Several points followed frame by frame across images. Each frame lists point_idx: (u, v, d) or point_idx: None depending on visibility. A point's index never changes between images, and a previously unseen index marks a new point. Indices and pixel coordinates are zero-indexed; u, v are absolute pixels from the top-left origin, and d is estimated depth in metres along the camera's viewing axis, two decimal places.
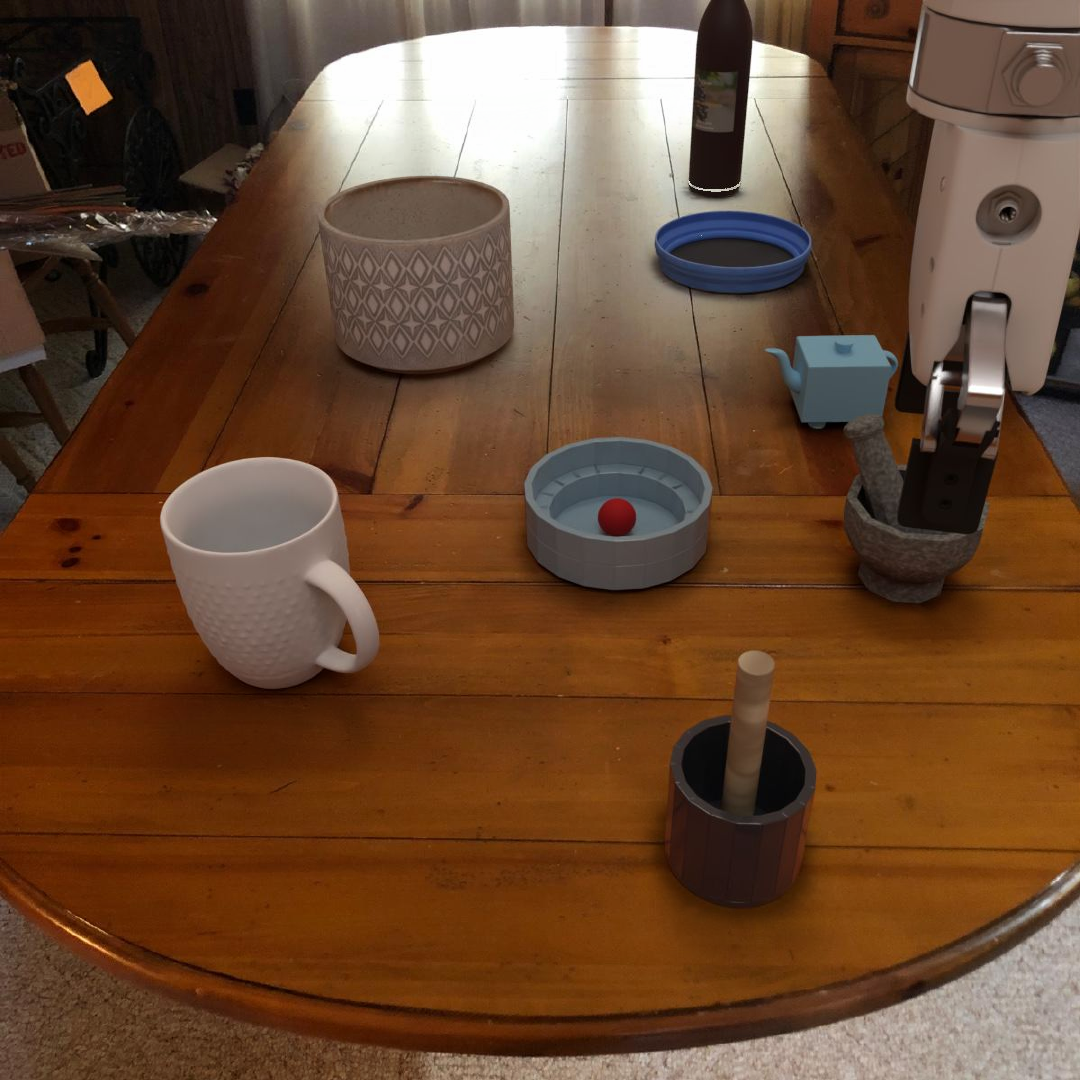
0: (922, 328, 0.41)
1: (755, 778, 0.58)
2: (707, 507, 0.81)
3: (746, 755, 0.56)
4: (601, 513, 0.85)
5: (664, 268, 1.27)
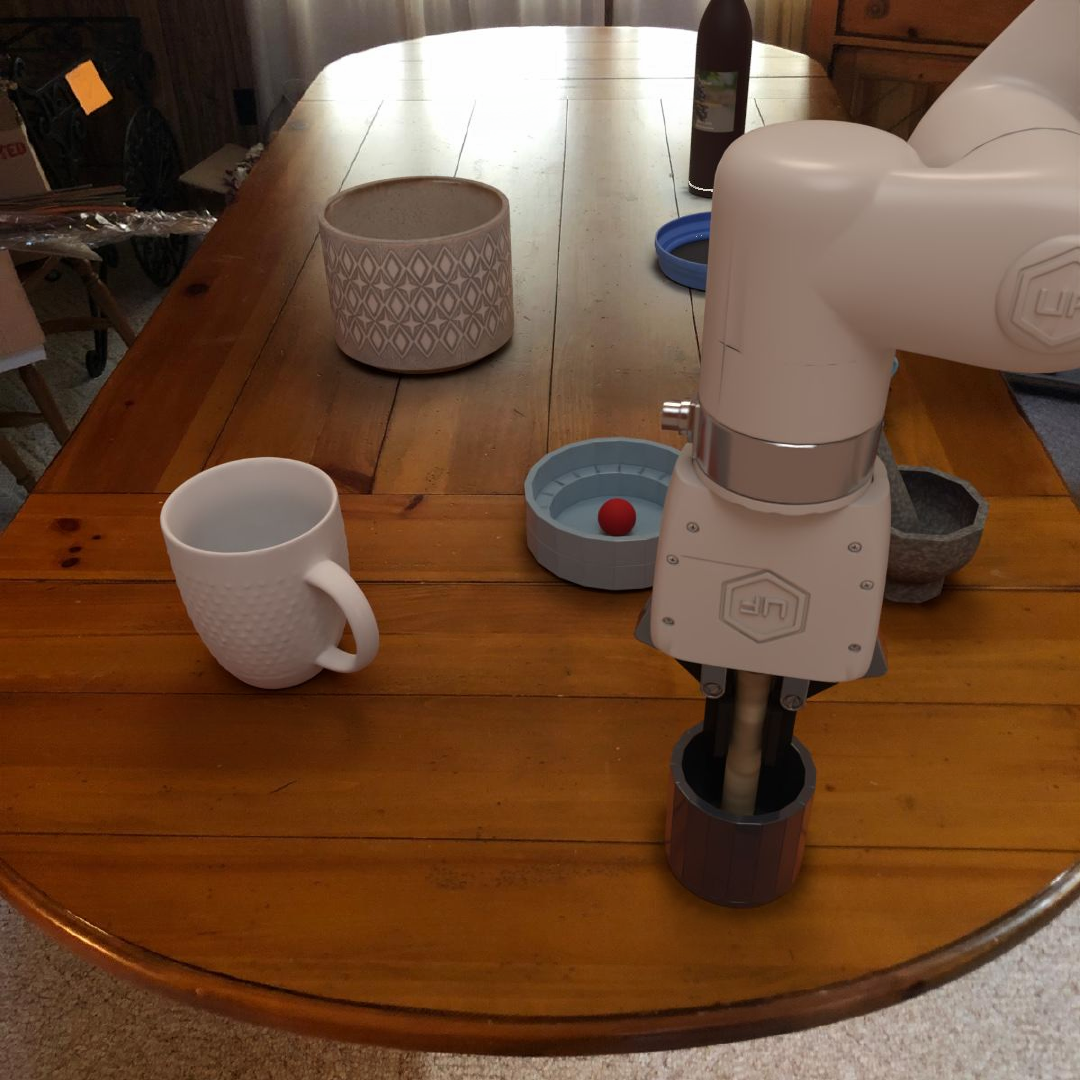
0: None
1: (754, 778, 0.58)
2: None
3: (746, 755, 0.56)
4: (601, 513, 0.85)
5: (664, 268, 1.27)
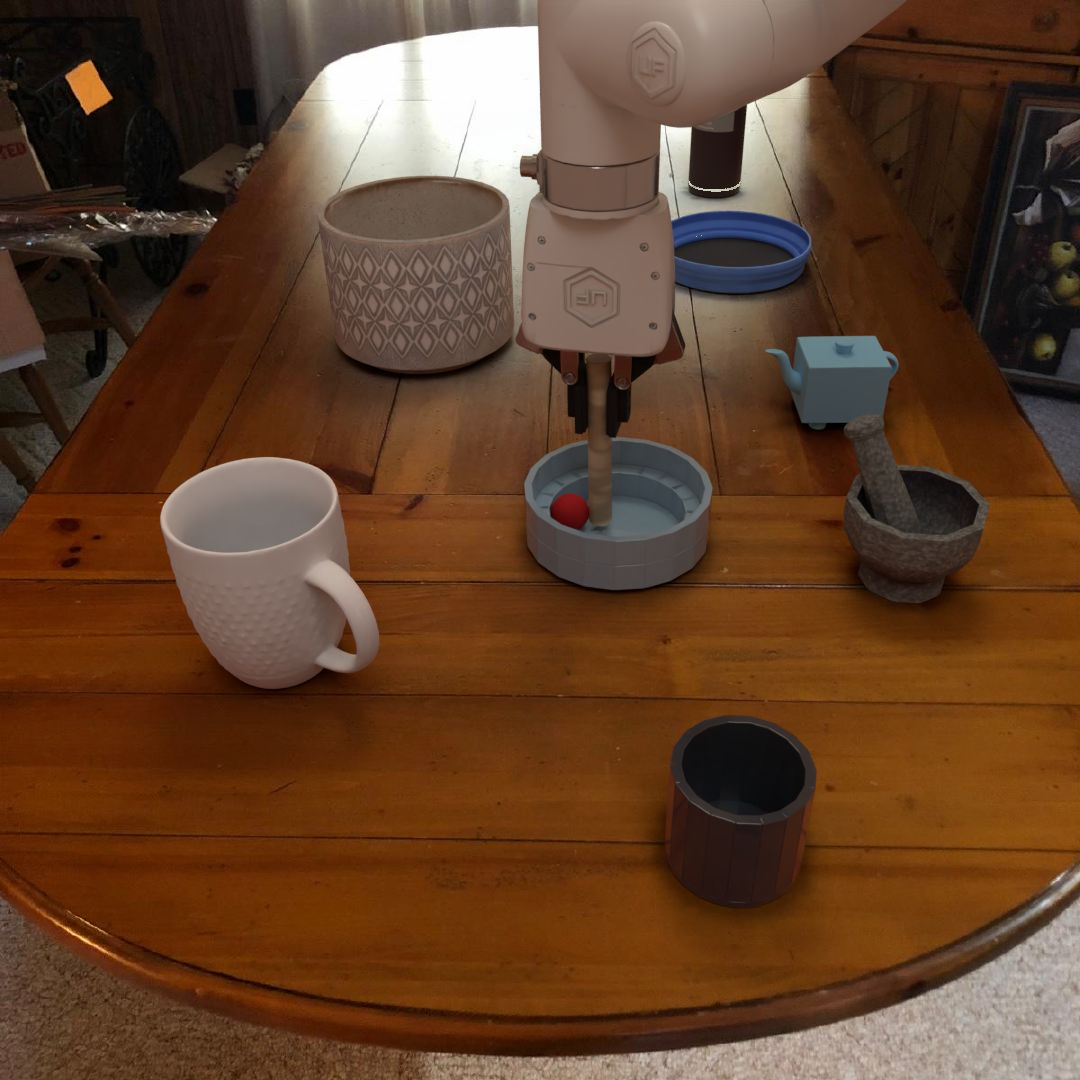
0: None
1: (607, 454, 0.82)
2: (707, 507, 0.81)
3: (598, 433, 0.80)
4: None
5: None
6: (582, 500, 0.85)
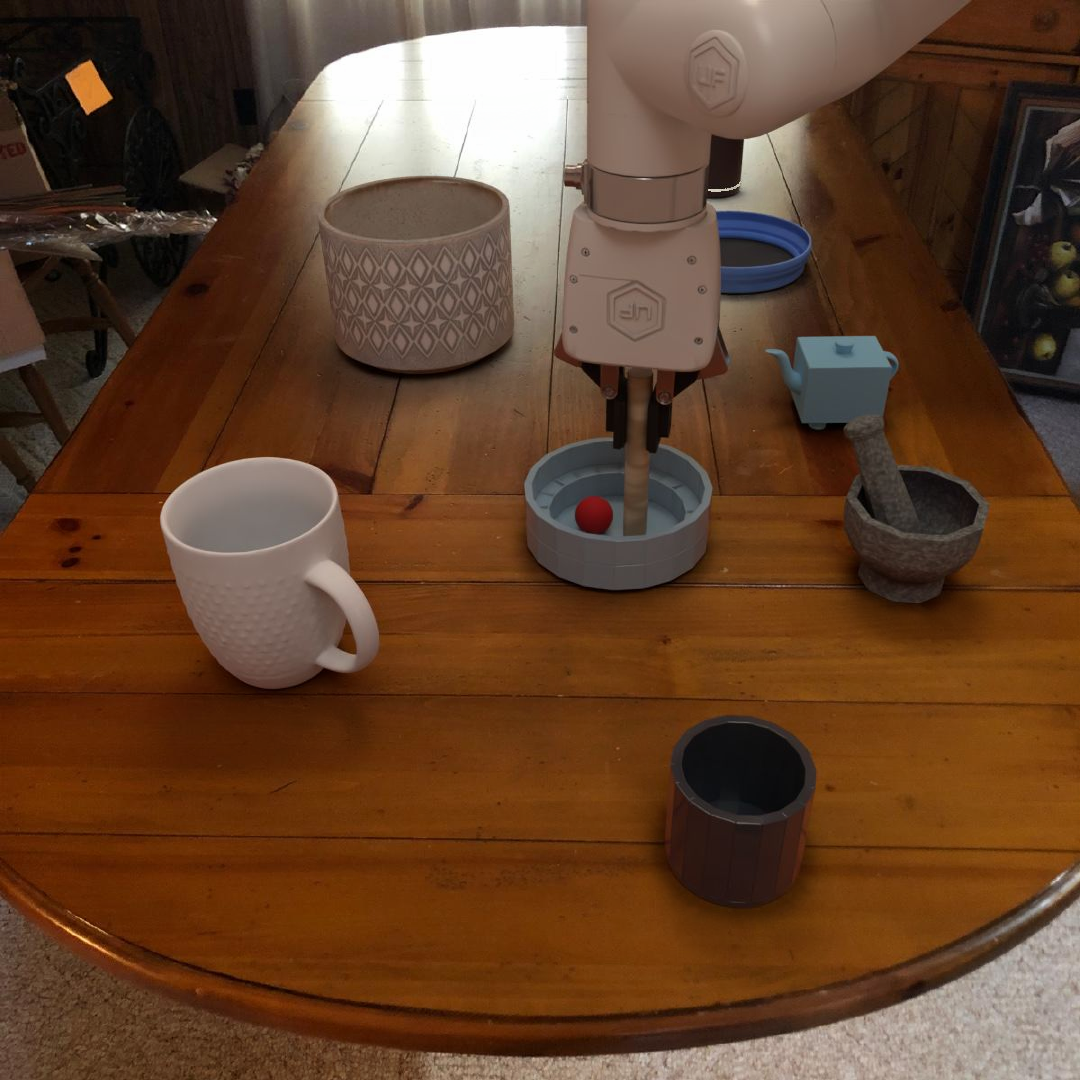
0: None
1: (645, 470, 0.80)
2: (707, 507, 0.81)
3: (637, 448, 0.79)
4: (578, 526, 0.86)
5: None
6: None
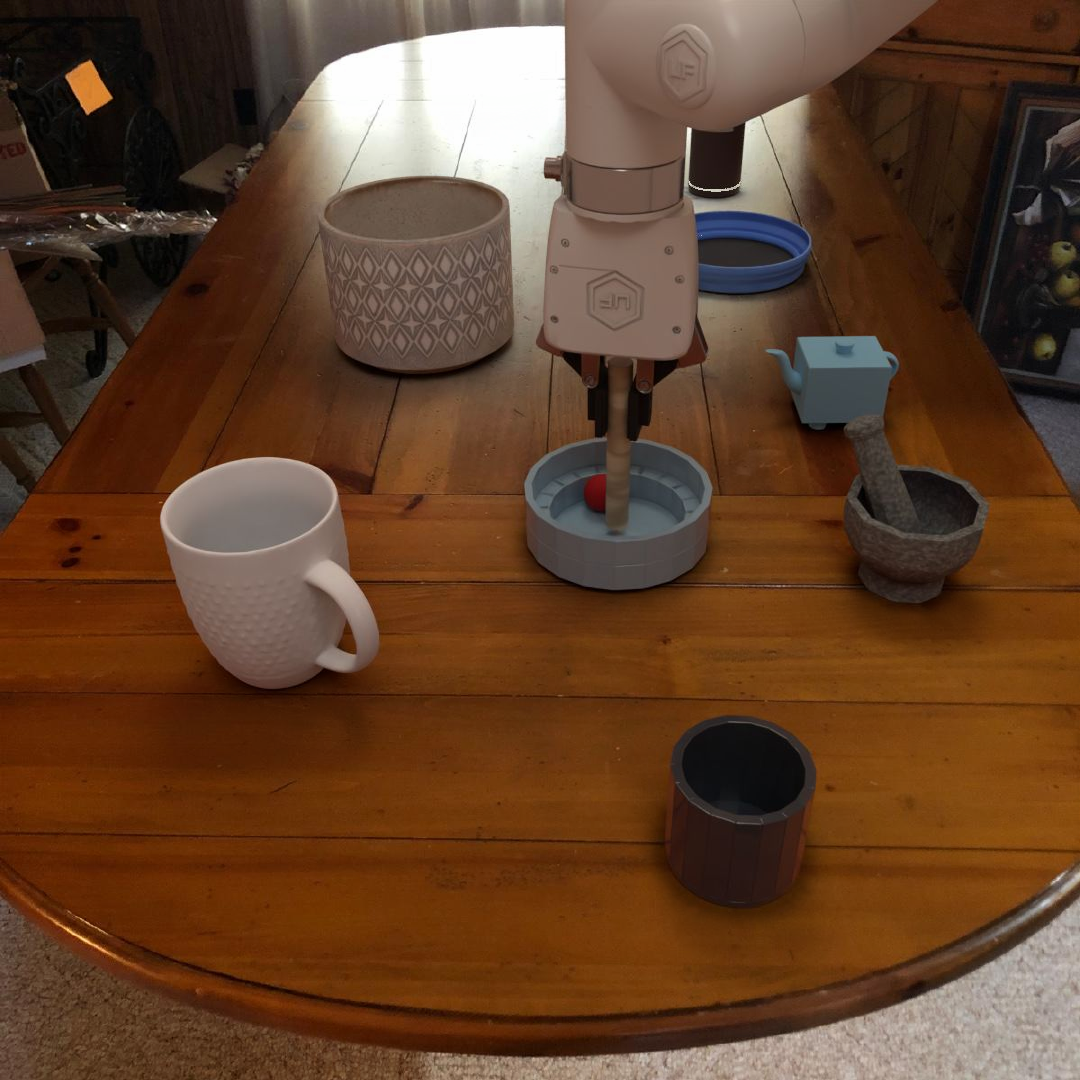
0: None
1: (626, 458, 0.81)
2: (707, 507, 0.81)
3: (618, 436, 0.80)
4: (584, 490, 0.88)
5: None
6: None
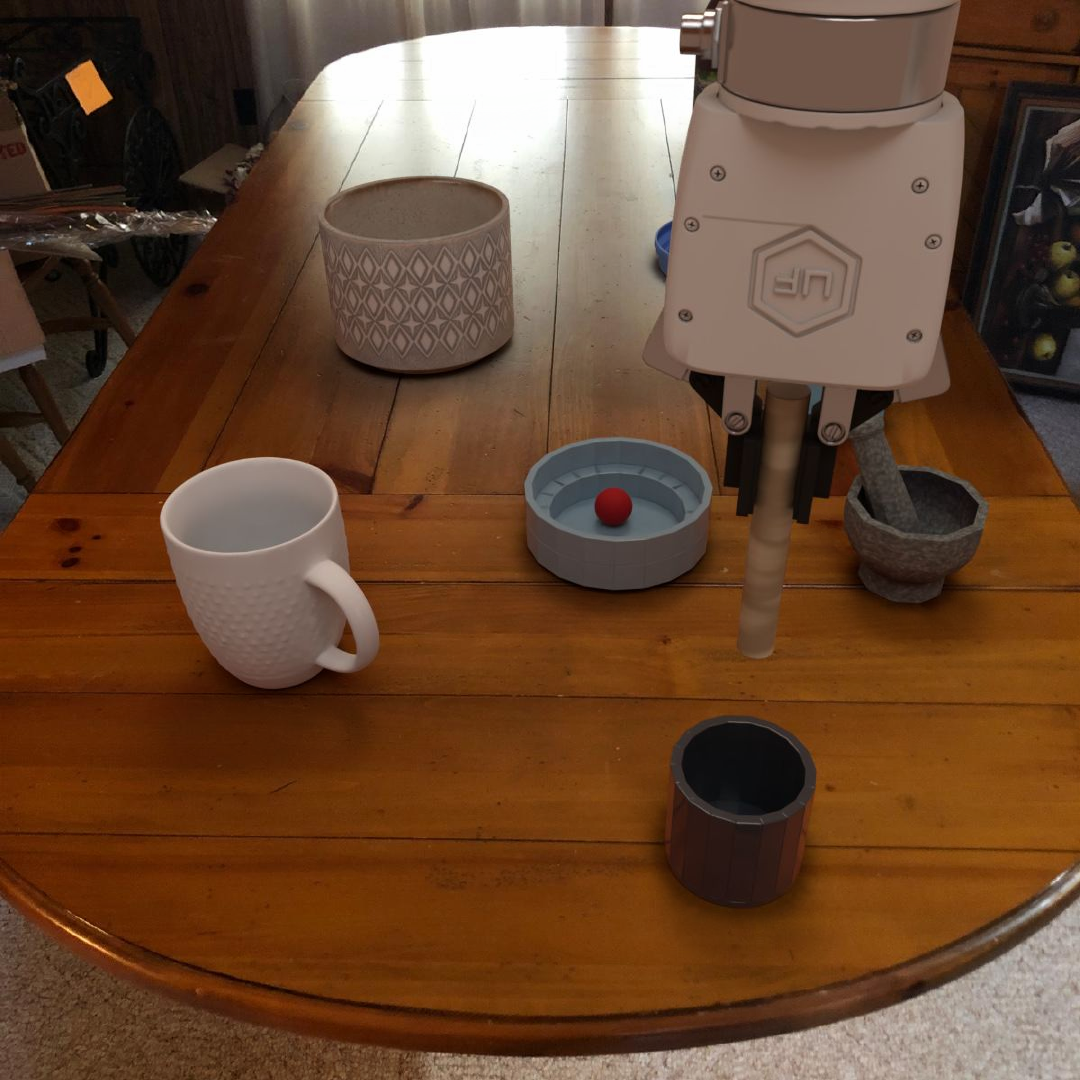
0: None
1: (784, 549, 0.49)
2: (707, 507, 0.81)
3: (775, 515, 0.47)
4: (598, 504, 0.86)
5: (664, 268, 1.27)
6: None
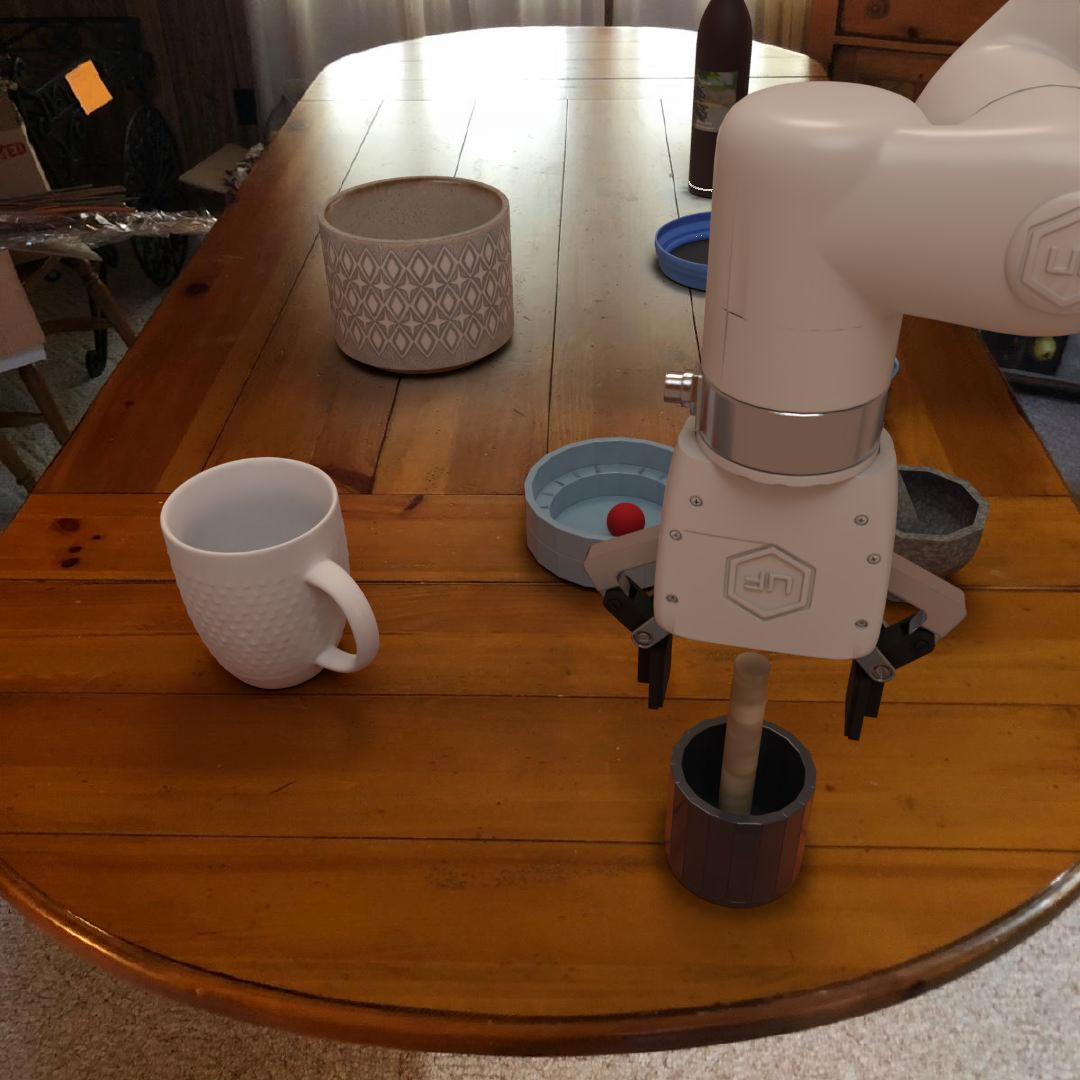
0: None
1: (751, 779, 0.58)
2: None
3: (743, 756, 0.56)
4: (613, 531, 0.84)
5: (664, 268, 1.27)
6: None
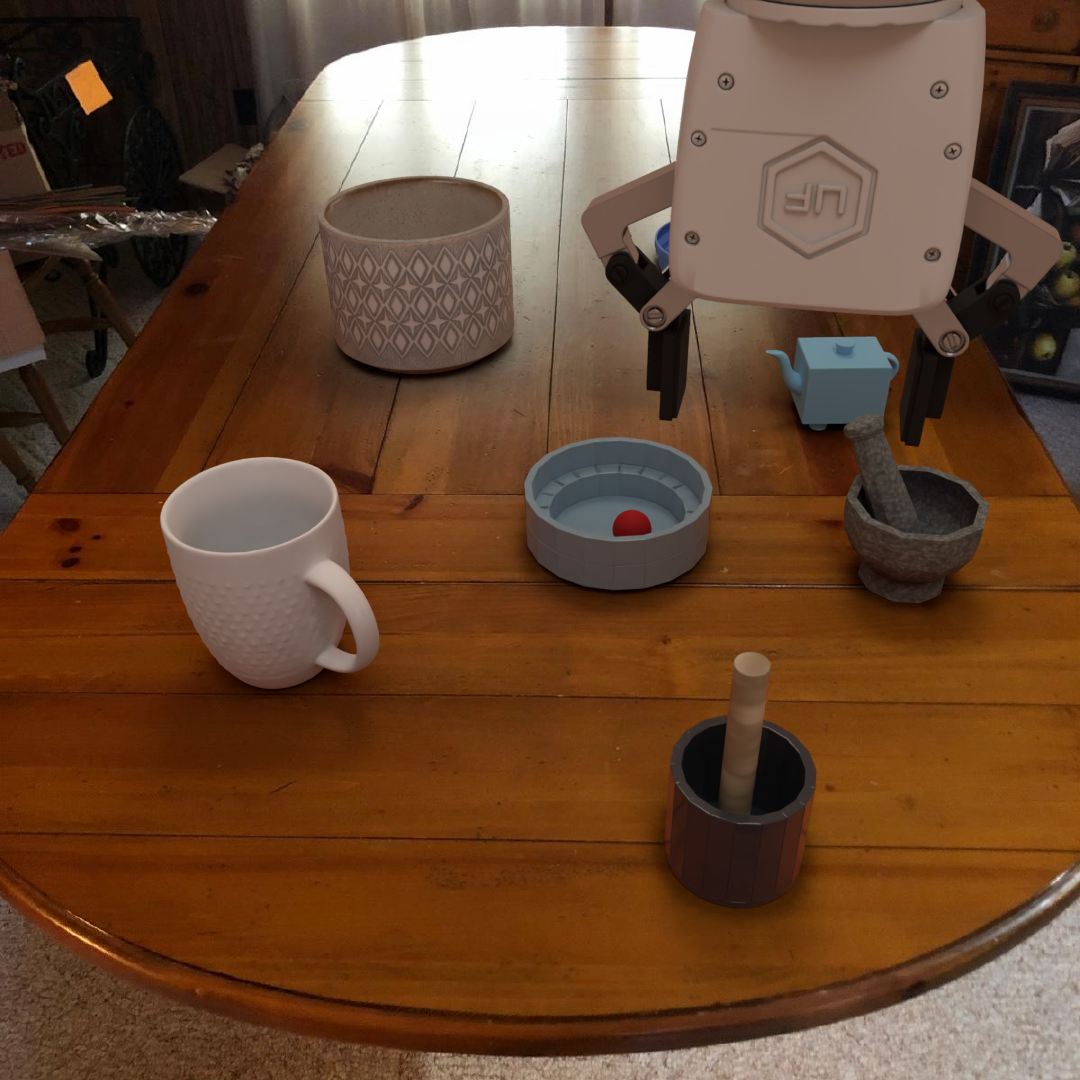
0: None
1: (751, 779, 0.58)
2: (707, 507, 0.81)
3: (743, 756, 0.56)
4: None
5: (664, 268, 1.27)
6: None
